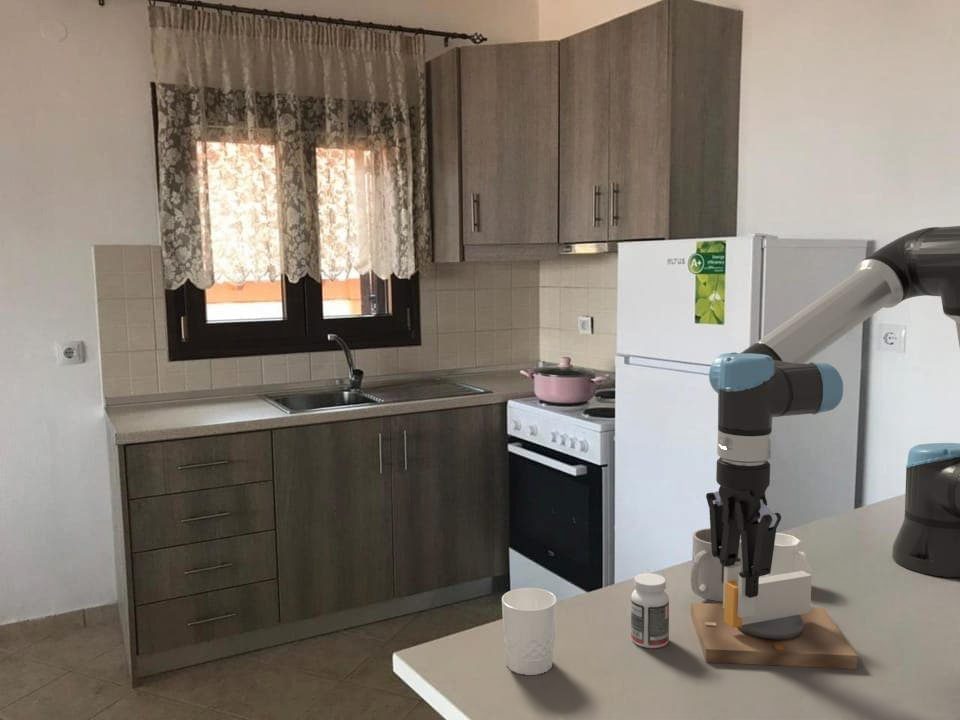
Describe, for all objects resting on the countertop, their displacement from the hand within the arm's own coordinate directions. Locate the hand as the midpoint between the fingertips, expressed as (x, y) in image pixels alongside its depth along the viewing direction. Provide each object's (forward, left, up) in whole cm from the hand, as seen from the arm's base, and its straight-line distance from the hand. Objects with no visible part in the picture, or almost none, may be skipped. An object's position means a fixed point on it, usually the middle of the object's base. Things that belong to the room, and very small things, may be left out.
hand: (738, 610), depth 121 cm
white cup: (+31, +9, -6) cm, 33 cm away
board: (-5, -2, -6) cm, 8 cm away
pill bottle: (+13, 0, -6) cm, 14 cm away
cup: (-13, -24, -6) cm, 28 cm away
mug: (+1, -19, -6) cm, 20 cm away
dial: (-5, -2, -3) cm, 6 cm away
